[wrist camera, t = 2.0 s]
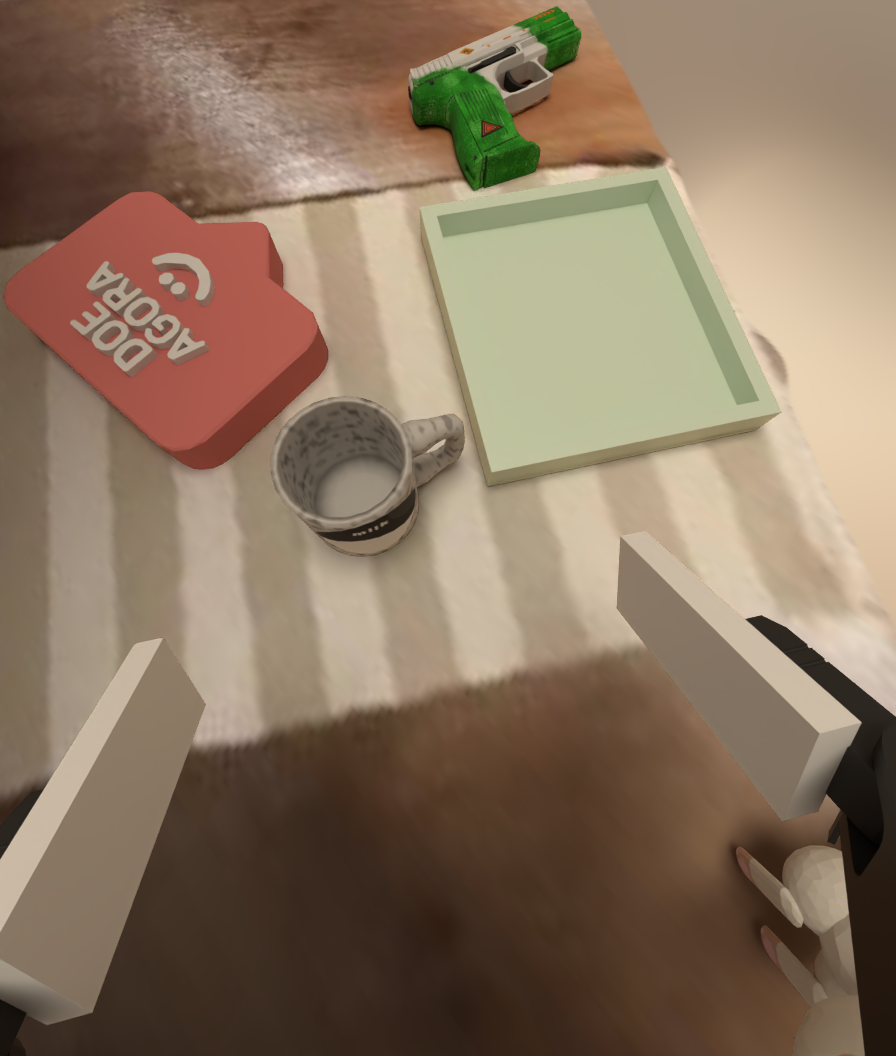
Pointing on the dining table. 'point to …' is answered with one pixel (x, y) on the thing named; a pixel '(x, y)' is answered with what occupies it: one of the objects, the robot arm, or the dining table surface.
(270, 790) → the dining table surface
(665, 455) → the dining table surface
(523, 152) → the handgun
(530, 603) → the dining table surface
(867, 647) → the dining table surface
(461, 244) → the tray
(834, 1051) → the toy
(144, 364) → the plaque
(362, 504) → the mug
